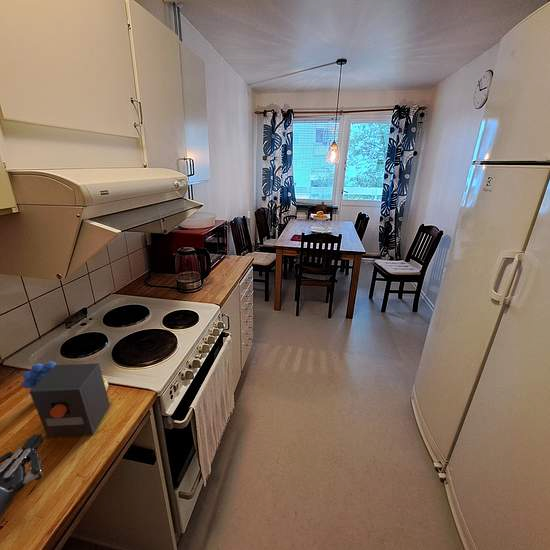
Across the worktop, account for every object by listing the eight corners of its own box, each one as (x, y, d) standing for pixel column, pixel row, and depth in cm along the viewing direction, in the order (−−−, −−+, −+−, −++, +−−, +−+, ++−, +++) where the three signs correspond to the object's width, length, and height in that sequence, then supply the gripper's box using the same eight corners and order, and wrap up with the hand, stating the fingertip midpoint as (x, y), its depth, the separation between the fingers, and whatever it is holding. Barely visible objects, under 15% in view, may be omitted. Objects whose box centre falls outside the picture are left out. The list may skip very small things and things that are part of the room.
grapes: (30, 410, 86) (17, 378, 81) (28, 397, 90) (16, 366, 86) (75, 391, 93) (65, 361, 89) (71, 380, 98) (62, 351, 93)
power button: (51, 418, 73) (48, 409, 72) (55, 413, 75) (52, 404, 74) (64, 417, 74) (61, 408, 72) (68, 412, 75) (65, 403, 74)
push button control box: (46, 437, 77) (28, 392, 72) (69, 407, 87) (55, 364, 81) (92, 435, 78) (78, 390, 72) (110, 405, 88) (99, 363, 82)
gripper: (3, 508, 50) (64, 423, 66) (-79, 513, 49) (3, 426, 65) (17, 533, 53) (72, 446, 69) (-60, 539, 52) (14, 449, 68)
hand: (38, 436), depth 67 cm, fingers closed
